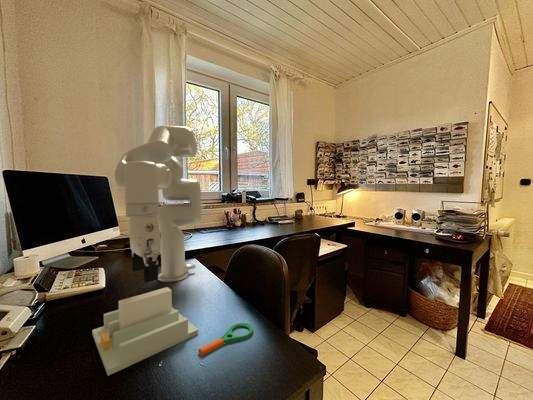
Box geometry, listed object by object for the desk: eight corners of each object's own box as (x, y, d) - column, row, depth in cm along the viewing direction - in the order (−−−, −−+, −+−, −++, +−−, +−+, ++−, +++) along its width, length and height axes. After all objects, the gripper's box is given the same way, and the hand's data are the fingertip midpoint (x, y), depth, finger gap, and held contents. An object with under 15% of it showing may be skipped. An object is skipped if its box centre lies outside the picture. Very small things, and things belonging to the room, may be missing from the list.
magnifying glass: (243, 324, 67) (243, 318, 67) (257, 333, 63) (257, 327, 63) (194, 350, 56) (193, 343, 56) (207, 363, 52) (207, 356, 52)
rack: (169, 307, 75) (168, 293, 75) (198, 333, 62) (197, 316, 62) (92, 334, 61) (91, 316, 61) (107, 375, 48) (107, 353, 48)
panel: (167, 317, 67) (167, 287, 67) (172, 322, 65) (171, 290, 65) (119, 336, 59) (118, 300, 58) (122, 341, 57) (121, 305, 56)
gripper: (171, 212, 57) (172, 281, 58) (147, 206, 69) (148, 263, 70) (136, 214, 51) (139, 290, 53) (117, 208, 64) (119, 269, 65)
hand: (144, 275), depth 61 cm, fingers open, 9 cm apart
